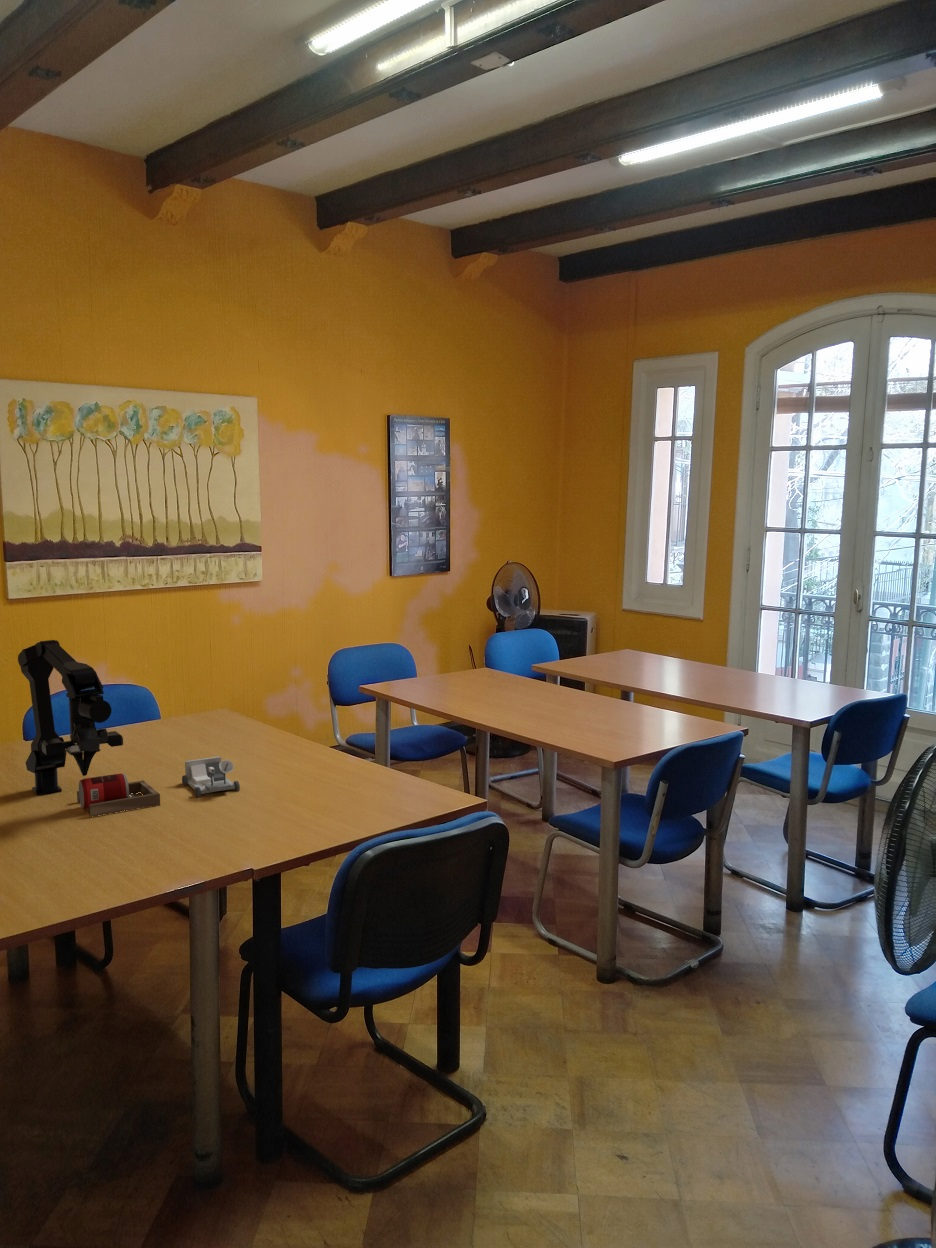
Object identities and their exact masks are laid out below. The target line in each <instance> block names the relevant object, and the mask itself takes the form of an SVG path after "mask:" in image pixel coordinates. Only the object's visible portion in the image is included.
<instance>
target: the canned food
mask: <svg viewBox="0 0 936 1248" xmlns="http://www.w3.org/2000/svg"><path fill="white" fill-rule="evenodd" d="M128 783H129V781H128V776H127V774H125V772H122V773H116V774H115V773H114V774H107V775H102V776H101V775H100V776H94V777H86V778H82V779H81V780H79V782H78V791H79V799H80V803H79V804H80V807H81V809H82V810H89V804H94V803H100V802H106V801H112V800H118V799H124V798H129V787H128Z"/></svg>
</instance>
